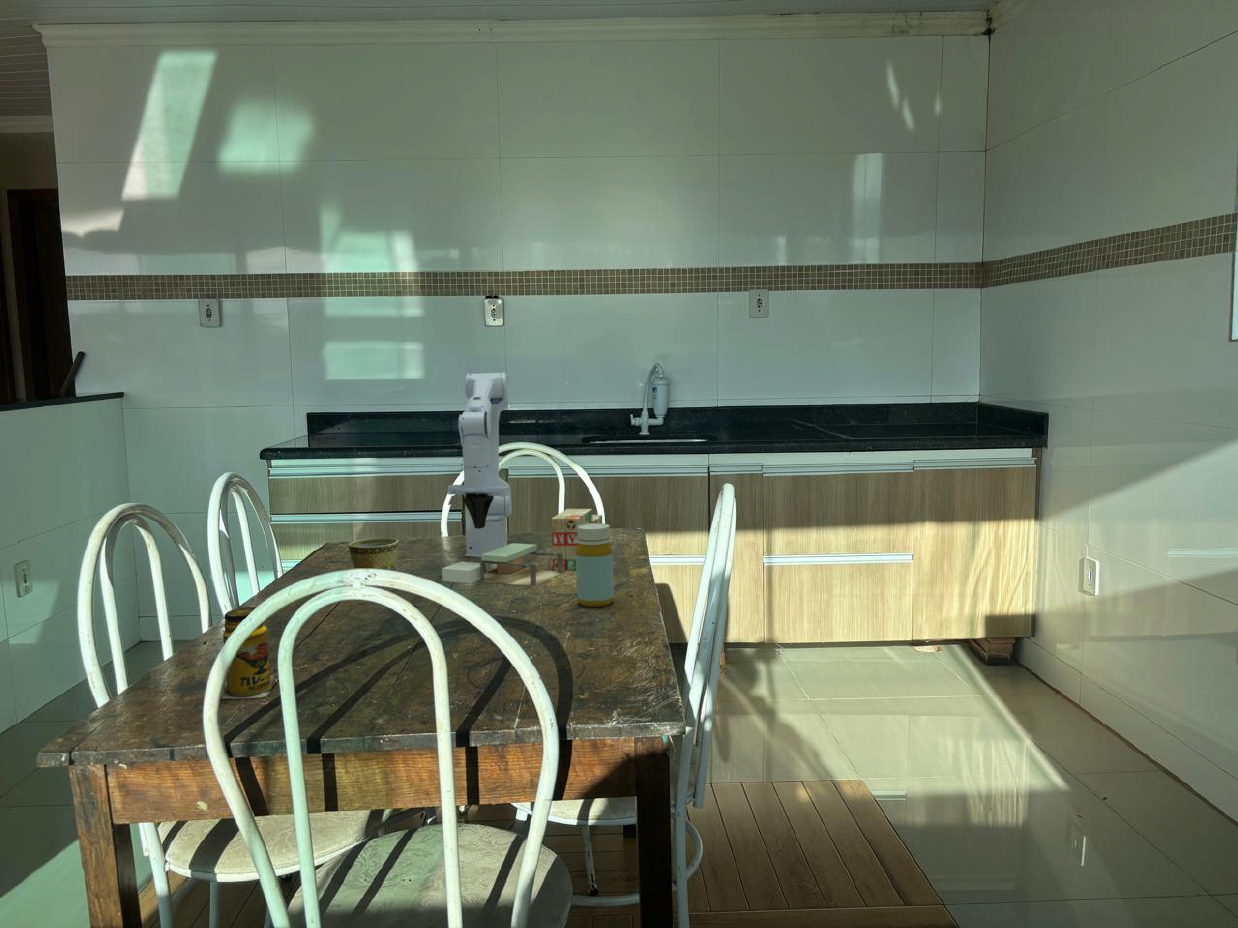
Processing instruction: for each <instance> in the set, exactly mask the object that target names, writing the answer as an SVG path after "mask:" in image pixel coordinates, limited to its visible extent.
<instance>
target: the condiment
mask: <svg viewBox="0 0 1238 928" xmlns="http://www.w3.org/2000/svg"><path fill="white" fill-rule="evenodd" d="M255 608H256V606H255V607H254V606H250V607H249V606H248V607H247V606H245V607H239V608H238V607H237V608H235V609H231V610H228V611H227V612H226V613H225V614H224V631H223V634H222V638H223V645H224V644H225V642H226V640H227V639H228V637H229V636H230V635H231V633H232V632H233V631H234V630H235V629H236V627H237V625H238V624H239V623H240V622H241V621H242V620H243V619H245V618H246V617H247V616H248V615H249V614H250V612H251V611H253V610H254V609H255ZM268 636H269V634H268V628H267V626H265V621H264V622H263V623H262V624H261V625H260V626H259V627H258V628H257V629H256V630H255V631H254V632H253V633H252V634H251V636H250V637H249V638H248V639H247V640H246V641H245V642H244V644H243V645H242V646H241V648H240V649H239V650H238V651H237V653H236V657H235V658H234V660H233V662H232V665H231V667H230V669H229V672H228V675H227V678H226V680H225V681H226V683H225V688H224V693H223V697H222V699H221V700H226V699H254V698H265V697H267V696H268V695H269V694H270V692H268V693H266V690H268V689H269V688H270V687H271V684H270V683H271V680H272V675H271V665H270V650H269V637H268ZM275 679H276V682H277V679H278V678H275ZM277 683H278V682H277ZM264 692H265V693H264Z"/></svg>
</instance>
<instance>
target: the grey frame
mask: <svg viewBox="0 0 1238 928" xmlns="http://www.w3.org/2000/svg"><path fill="white" fill-rule="evenodd" d="M528 555H538V556H539V555H541V556H552V557H553V556H557V562H558V570H544V569H540V564H539V563H533V562H532V563H531V562H523V564H520V563H508V562H497V561H485V560H479V563H480V570H481V579H480V582H483V583H484V582H485V583H486V582H487V583H497V584H498V583H499V584H508V585H517V586H528V587H529V586H530V587H535V586H537V585H540V584H541V583H544V582H546V581H548V580H550V579H552V578H555V577H557V576H559V575H562V574H564V573H565V571H564V570H563V561H562V553H553V552H549V551H548V552H546V551H534V552H531V553H529V554H528ZM486 564H488V565H509V566H522V567H523V569H522V570H520V571H517V572H515V573H512V574H510V575H504V574H498V569H497V566H496V567H494V568H491V569H488V571H486Z"/></svg>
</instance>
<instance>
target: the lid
mask: <svg viewBox="0 0 1238 928" xmlns="http://www.w3.org/2000/svg"><path fill="white" fill-rule="evenodd" d="M537 550H538V545H537V544H529V543H515V542H513V543H509V544H507V546H504V547H501V548H498V549H495V550H493V551H490V552H487V553H484V554H482V555H481V557H480V559H481V560H485V561H496V562H497V561H498V562H508V561H511V560H513V559H516V558H518V557H521V556H523V557H524V556H525V555H530V554H529V553H531V552H537ZM481 560H480V561H481Z"/></svg>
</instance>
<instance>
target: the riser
mask: <svg viewBox="0 0 1238 928" xmlns="http://www.w3.org/2000/svg"><path fill="white" fill-rule="evenodd" d="M488 567H489V564H486V571H488V570H489V568H488ZM441 575H442V576H441V577H442V580H441V581H442V582H447V583H449V582H450V583H461V584H472V583H475V582H477V581H481V570H480V562H470V561H459V562H455V563H453V564H450V565H446V566H445V567H442V568H441Z"/></svg>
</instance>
